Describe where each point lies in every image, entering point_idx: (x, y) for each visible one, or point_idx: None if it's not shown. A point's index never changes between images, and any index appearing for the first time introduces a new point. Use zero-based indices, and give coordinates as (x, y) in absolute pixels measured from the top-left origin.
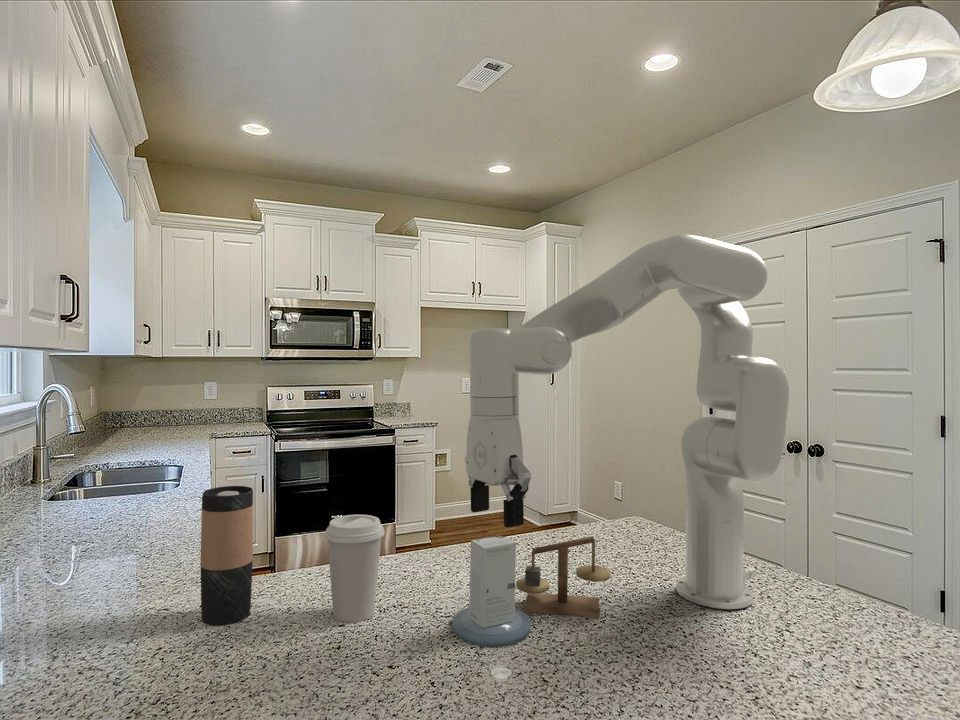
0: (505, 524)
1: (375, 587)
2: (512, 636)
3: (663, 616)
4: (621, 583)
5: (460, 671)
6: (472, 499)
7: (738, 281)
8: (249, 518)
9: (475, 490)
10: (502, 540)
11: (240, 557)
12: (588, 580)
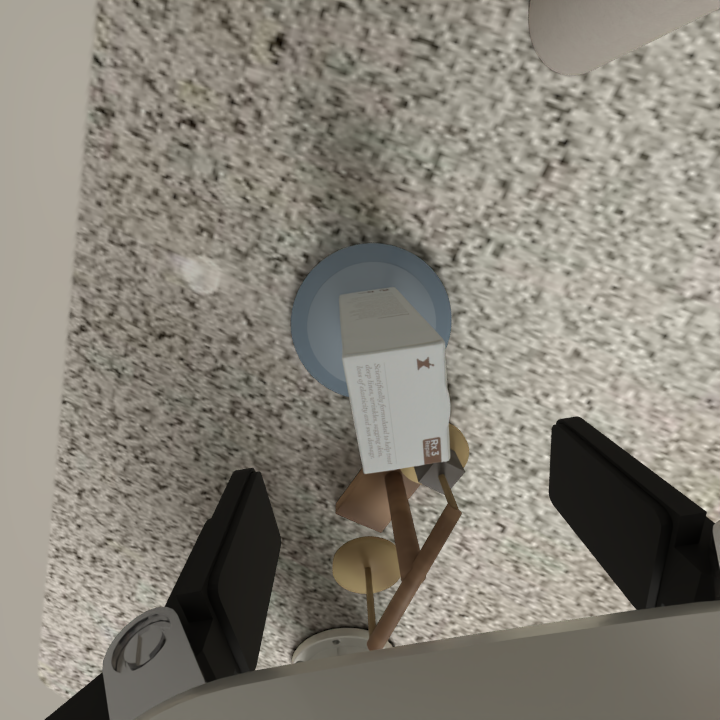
0: (232, 475)
1: (591, 33)
2: (295, 340)
3: (308, 578)
4: (437, 585)
5: (222, 199)
6: (607, 459)
7: None
8: None
9: (647, 521)
10: (394, 444)
11: None
12: (343, 544)
